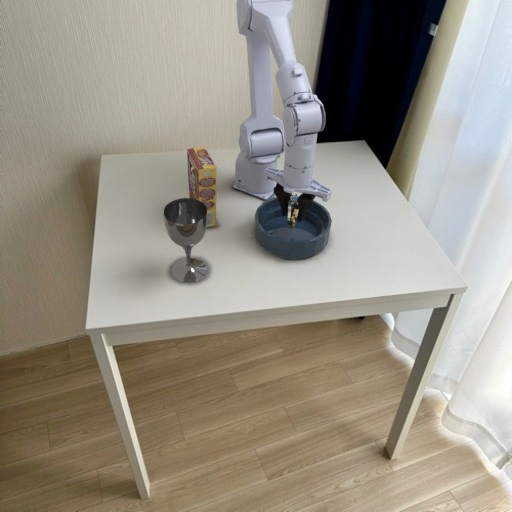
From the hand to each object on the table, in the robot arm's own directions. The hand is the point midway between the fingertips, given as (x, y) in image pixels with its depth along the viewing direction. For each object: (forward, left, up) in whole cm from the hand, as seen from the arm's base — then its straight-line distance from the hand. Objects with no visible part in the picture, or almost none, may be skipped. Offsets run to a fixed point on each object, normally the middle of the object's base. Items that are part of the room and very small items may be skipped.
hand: (293, 216), depth 110 cm
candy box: (-20, -5, -6) cm, 21 cm away
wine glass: (-12, -21, -6) cm, 25 cm away
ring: (0, 0, -3) cm, 3 cm away
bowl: (0, 0, -5) cm, 5 cm away
